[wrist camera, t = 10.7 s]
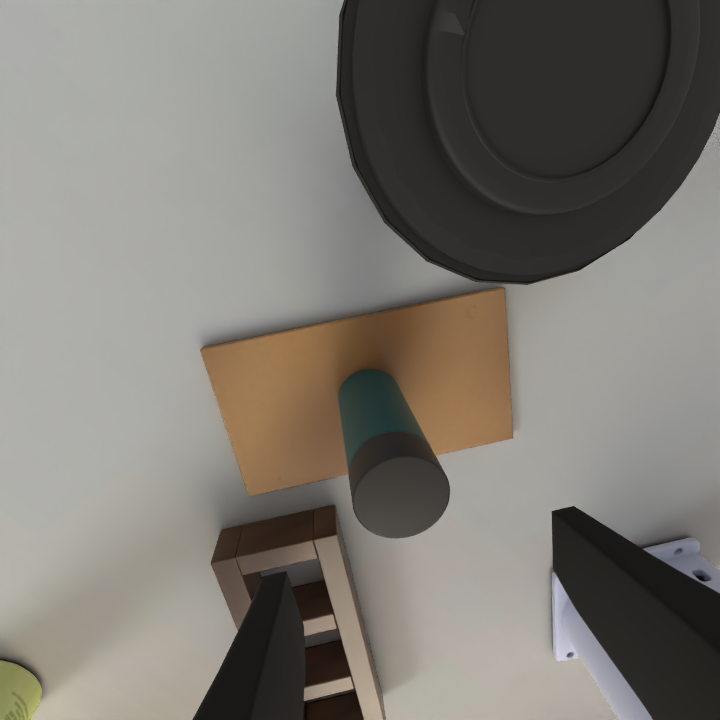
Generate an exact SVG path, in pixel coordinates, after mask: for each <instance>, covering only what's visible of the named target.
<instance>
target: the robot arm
mask: <svg viewBox="0 0 720 720" xmlns="http://www.w3.org/2000/svg"><path fill="white" fill-rule="evenodd" d="M552 543H553V570H554V572H553V573H552V621H553V654H554V656H555V658H556V660H558V661H566V660H570V659H574V658H578V657H580V658H581V660H582V661H583V663H584V665H585V666H586V668H587V670H588V671H589V673H590V674H591V676H592V678H593V679H594V681H595V682H596V684H597V686H598V687H599V689H600V691H601V692H602V694H603V695H604V697H605V699H606V700H607V702H608V704H609V705H610V707H611V708H612V710H613V712H614V713H615V715H616V716H617V718H618V720H720V570H718V569H717V568H716V567H715V566H714V565H713V564H711V563H710V562H709V561H708V560H707V559H705V558H704V557H703V556H702V555H701V554H699V552H700V543H699V542H698V541H697V540H696V539H695V538H692V537H691V538H685V539H681V540H677V541H673V542H668V543H664V544H660V545H656V546H651V547H647V548H643V549H642V548H640V547H638V546H637V545H635V544H634V543H632V542H630V541H629V540H627V539H625V538H624V537H622V536H621V535H619V534H617V533H616V532H614V531H613V530H611V529H609V528H608V527H606V526H605V525H603V524H602V523H600V522H598V521H597V520H595V519H594V518H592V517H590V516H589V515H587V514H586V513H584V512H582V511H581V510H579V509H578V508H576V507H574V506H572V507H568V508H563V509H559V510H555V511H552ZM304 688H305V639H304V625H303V622H302V619H301V616H300V612H299V609H298V606H297V603H296V600H295V597H294V593H293V590H292V587H291V584H290V581H289V578H288V574H287V571H285V572H281V573H277V574H272V575H268V576H263V578H262V579H261V580H260V583H259V585H258V587H257V590H256V592H255V594H254V597H253V599H252V601H251V604H250V606H249V608H248V611H247V613H246V615H245V617H244V619H243V622H242V624H241V626H240V628H239V630H238V633H237V635H236V637H235V639H234V641H233V643H232V645H231V647H230V649H229V651H228V653H227V655H226V657H225V659H224V661H223V663H222V665H221V667H220V669H219V671H218V673H217V675H216V677H215V679H214V681H213V683H212V685H211V686H210V688H209V690H208V692H207V694H206V696H205V698H204V699H203V701H202V703H201V705H200V707H199V709H198V711H197V712H196V714H195V716H194V718H193V720H302V719H303V704H304Z"/></svg>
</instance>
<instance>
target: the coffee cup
mask: <svg viewBox="0 0 720 720" xmlns="http://www.w3.org/2000/svg"><path fill="white" fill-rule="evenodd" d="M336 97H337V101H338V106H339V110H340V114H341V119H342V123H343V127H344V132H345V136H346V140H347V145H348V149H349V153H350V158H351V162H352V166H353V168H354V170H355V172H356V173H357V175H358V177H359V179H360V180H361V182H362V184H363V186H364V188H365V189H366V191H367V193H368V195H369V196H370V198H371V200H372V202H373V203H374V205H375V207H376V209H377V210H378V212H379V214H380V216H381V218H382V219H383V221H384V223H385V224H386V225H388V226H389V227H390V228H391V229H392V230H393V231H394V232H395V233H396V234H397V235H399V236H400V237H401V238H402V239H403V240H404V241H405V242H406V243H407V244H408V245H409V246H411V247H412V248H413V249H414V250H415V251H416V252H417V253H418V254H419V255H420V256H422V257H423V258H424V259H425V260H426V261H427V262H430V263H432V264H434V265H437V266H439V267H442V268H444V269H446V270H449V271H451V272H453V273H456V274H458V275H461V276H463V277H465V278H468V279H470V280H472V281H475V282H487V283H504V284H522V285H528V284H532V283H536V282H539V281H543V280H547V279H550V278H554V277H558V276H561V275H565V274H569V273H572V272H576V271H579V270H581V269H582V268H584V267H586V266H587V265H589V264H590V263H592V262H594V261H595V260H597V259H599V258H600V257H602V256H603V255H605V254H607V253H608V252H610V251H611V250H613V249H615V248H616V247H618V246H619V245H621V244H623V243H624V242H626V241H627V240H629V239H630V238H631V237H632V236H633V235H634V234H635V233H636V232H637V231H638V230H639V229H641V228H642V227H643V226H644V225H645V224H646V223H647V222H648V221H649V220H650V219H651V218H652V217H653V216H654V215H655V214H657V213H658V212H659V211H660V210H661V209H662V207H663V206H664V205H665V204H666V203H667V201H668V200H669V199H670V198H671V197H672V195H673V194H674V193H675V192H676V191H677V190H678V188H679V187H680V186H681V184H682V183H683V181H684V180H685V178H686V177H687V175H688V174H689V172H690V171H691V169H692V168H693V166H694V165H695V163H696V162H697V160H698V159H699V157H700V155H701V153H702V151H703V149H704V147H705V145H706V143H707V141H708V139H709V137H710V135H711V133H712V131H713V129H714V127H715V124H716V121H717V118H718V116H719V113H720V0H344V2H343V6H342V9H341V12H340V15H339V39H338V63H337V87H336Z"/></svg>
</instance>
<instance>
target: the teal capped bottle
mask: <svg viewBox="0 0 720 720" xmlns="http://www.w3.org/2000/svg"><path fill="white" fill-rule="evenodd" d="M338 401H339V409H340V416H341V423H342V430H343V438H344V445H345V452H346V460H347V467H348V474H349V481H350V489H351V496H352V503H353V509H354V513H355V515H356V517H357V519H358V520H359V522H360V523H361V524H362V525H363V526H364V527H365V528H366V529H367V530H369V531H370V532H372V533H374V534H376V535H379V536H382V537H387V538H405V537H410V536H413V535H416V534H419V533H421V532H423V531H425V530H426V529H428V528H429V527H431V526H432V525H433V524H435V523H436V522H437V521H438V519H439V518H440V517H441V516H442V514H443V513H444V511H445V509H446V507H447V505H448V501H449V496H450V486H449V482H448V479H447V477H446V475H445V473H444V471H443V469H442V467H441V465H440V463H439V461H438V460H437V458H436V456H435V454H434V452H433V450H432V448H431V446H430V444H429V443H428V441H427V439H426V437H425V435H424V433H423V431H422V429H421V427H420V426H419V424H418V422H417V420H416V418H415V416H414V414H413V412H412V410H411V409H410V407H409V405H408V403H407V401H406V399H405V397H404V395H403V393H402V392H401V390H400V388H399V386H398V384H397V382H396V381H395V380H394V378H393V377H392V376H390V375H389V374H388V373H386V372H384V371H381V370H377V369H365V370H361V371H358V372H356V373H354V374H353V375H351V376H350V377H349V378H348V379H347V380H346V381H345V382H344V383H343V385H342V387H341V389H340V392H339V397H338Z"/></svg>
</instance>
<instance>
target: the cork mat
mask: <svg viewBox="0 0 720 720" xmlns="http://www.w3.org/2000/svg"><path fill="white" fill-rule="evenodd" d="M200 351H201V354H202V357H203V360H204V363H205V366H206V369H207V372H208V375H209V378H210V381H211V384H212V387H213V390H214V393H215V396H216V399H217V402H218V405H219V408H220V411H221V414H222V417H223V420H224V423H225V426H226V429H227V432H228V435H229V438H230V441H231V444H232V447H233V450H234V453H235V456H236V459H237V462H238V465H239V468H240V471H241V474H242V477H243V480H244V483H245V486H246V489H247V492H248V495H249V496H254V495H259V494H263V493H268V492H272V491H277V490H281V489H286V488H290V487H295V486H299V485H304V484H308V483H313V482H317V481H322V480H327V479H331V478H336V477H340V476H345V475H349V474H348V467H347V460H346V452H345V445H344V438H343V430H342V423H341V416H340V409H339V401H338V397H339V392H340V389H341V387H342V385H343V383H344V382H345V381H346V380H347V379H348V378H349V377H350V376H351V375H353V374H354V373H356V372H358V371H361V370H365V369H377V370H381V371H384V372H386V373H388V374H389V375H390V376H392V377H393V378H394V380H395V381H396V382H397V384H398V386H399V388H400V390H401V392H402V393H403V395H404V397H405V399H406V401H407V403H408V405H409V407H410V409H411V410H412V412H413V414H414V416H415V418H416V420H417V422H418V424H419V426H420V427H421V429H422V431H423V433H424V435H425V437H426V439H427V441H428V443H429V444H430V446H431V448H432V450H433V452H434V454H435V455H440V454H444V453H449V452H453V451H458V450H462V449H467V448H472V447H476V446H481V445H485V444H490V443H494V442H499V441H503V440H508V439H512V438H513V424H512V406H511V388H510V370H509V352H508V333H507V315H506V297H505V288H503V287H498V288H493V289H488V290H483V291H478V292H473V293H468V294H463V295H459V296H454V297H449V298H444V299H439V300H434V301H429V302H424V303H419V304H414V305H409V306H404V307H399V308H394V309H389V310H384V311H380V312H375V313H370V314H365V315H360V316H355V317H350V318H345V319H340V320H335V321H330V322H325V323H320V324H315V325H310V326H305V327H301V328H296V329H291V330H286V331H281V332H276V333H271V334H266V335H261V336H256V337H251V338H246V339H241V340H236V341H231V342H226V343H222V344H217V345H212V346H207V347H203V348H201V350H200Z"/></svg>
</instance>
